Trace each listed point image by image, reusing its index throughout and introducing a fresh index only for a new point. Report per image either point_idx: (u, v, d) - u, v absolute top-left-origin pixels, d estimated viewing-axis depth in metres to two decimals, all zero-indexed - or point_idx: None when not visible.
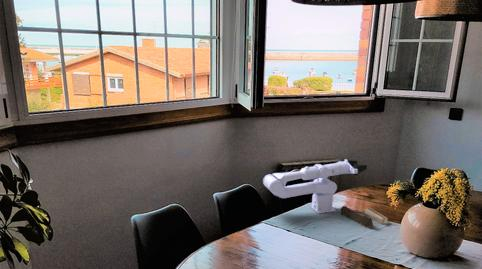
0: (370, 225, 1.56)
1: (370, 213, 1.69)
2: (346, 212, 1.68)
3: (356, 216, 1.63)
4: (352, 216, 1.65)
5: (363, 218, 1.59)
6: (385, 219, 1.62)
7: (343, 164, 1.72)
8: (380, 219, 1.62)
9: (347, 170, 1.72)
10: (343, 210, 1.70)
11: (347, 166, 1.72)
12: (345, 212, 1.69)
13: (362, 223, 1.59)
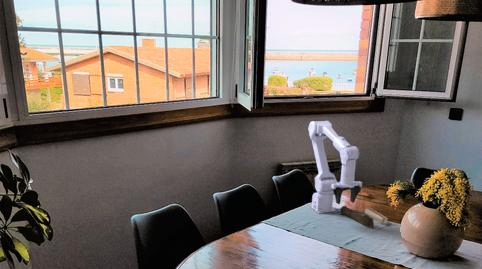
0: (371, 225, 1.56)
1: (370, 213, 1.69)
2: (346, 212, 1.68)
3: (357, 216, 1.63)
4: (352, 216, 1.65)
5: (364, 218, 1.59)
6: (385, 219, 1.62)
7: (347, 180, 1.56)
8: (380, 219, 1.62)
9: (340, 181, 1.58)
10: (343, 210, 1.70)
11: (343, 183, 1.57)
12: (345, 212, 1.69)
13: (363, 223, 1.59)
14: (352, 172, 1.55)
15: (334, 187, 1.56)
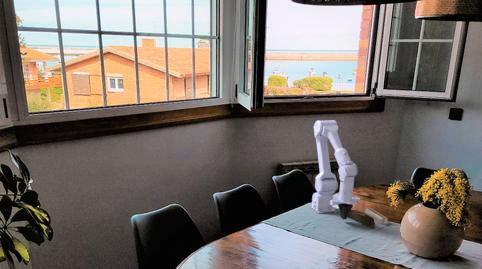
0: (372, 225, 1.57)
1: (370, 213, 1.69)
2: None
3: (357, 216, 1.63)
4: (353, 216, 1.65)
5: (365, 218, 1.59)
6: (385, 219, 1.62)
7: (345, 196, 1.57)
8: (380, 219, 1.62)
9: (339, 197, 1.60)
10: None
11: (342, 199, 1.58)
12: None
13: (364, 223, 1.60)
14: (350, 189, 1.57)
15: (333, 204, 1.58)
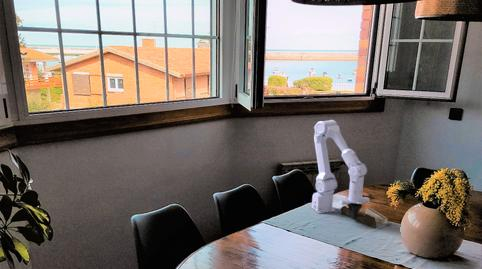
0: (374, 224, 1.57)
1: (370, 213, 1.69)
2: (347, 212, 1.68)
3: (358, 216, 1.63)
4: None
5: (366, 217, 1.59)
6: (385, 219, 1.62)
7: (355, 196, 1.59)
8: (380, 219, 1.62)
9: (349, 197, 1.61)
10: (343, 210, 1.70)
11: (352, 199, 1.60)
12: (346, 212, 1.69)
13: (365, 222, 1.60)
14: (361, 188, 1.59)
15: (342, 203, 1.59)
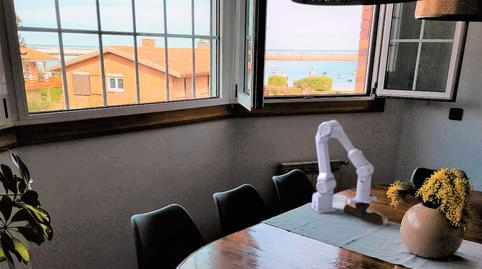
0: (380, 221, 1.60)
1: None
2: (351, 211, 1.70)
3: None
4: None
5: (372, 215, 1.62)
6: (385, 219, 1.62)
7: (363, 196, 1.60)
8: None
9: (356, 197, 1.63)
10: (347, 209, 1.71)
11: (359, 198, 1.61)
12: (350, 211, 1.70)
13: (371, 220, 1.63)
14: (369, 187, 1.60)
15: (350, 202, 1.60)
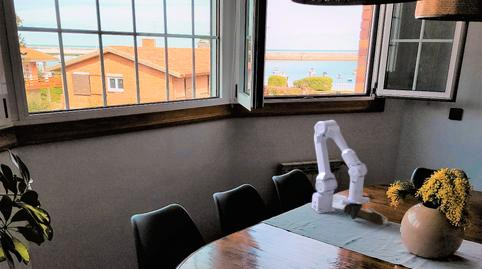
0: (380, 221, 1.60)
1: None
2: None
3: (364, 213, 1.65)
4: (359, 214, 1.67)
5: (372, 215, 1.62)
6: (385, 219, 1.62)
7: (355, 196, 1.59)
8: None
9: (349, 197, 1.61)
10: (347, 209, 1.72)
11: (352, 199, 1.60)
12: None
13: (371, 220, 1.63)
14: (362, 188, 1.59)
15: (343, 203, 1.59)
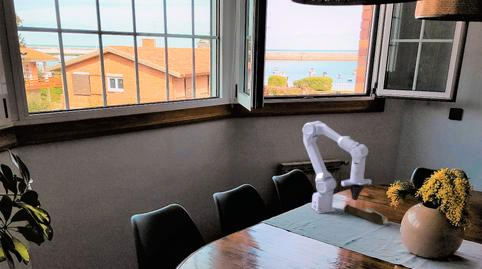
0: (380, 221, 1.60)
1: None
2: (351, 210, 1.70)
3: (364, 213, 1.65)
4: (359, 214, 1.67)
5: (372, 215, 1.62)
6: (385, 219, 1.62)
7: (357, 177, 1.60)
8: None
9: (350, 179, 1.63)
10: (347, 209, 1.72)
11: (353, 180, 1.61)
12: (350, 210, 1.71)
13: (371, 220, 1.63)
14: None
15: (344, 184, 1.60)
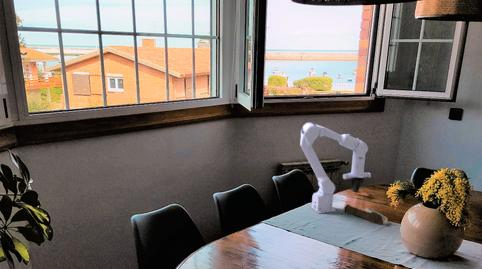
0: (380, 221, 1.60)
1: None
2: (351, 210, 1.70)
3: (364, 214, 1.66)
4: (359, 214, 1.67)
5: (372, 215, 1.62)
6: (385, 219, 1.62)
7: (357, 171, 1.70)
8: None
9: (351, 172, 1.72)
10: (347, 209, 1.72)
11: (354, 173, 1.71)
12: (350, 211, 1.71)
13: (371, 220, 1.63)
14: None
15: (345, 177, 1.70)
